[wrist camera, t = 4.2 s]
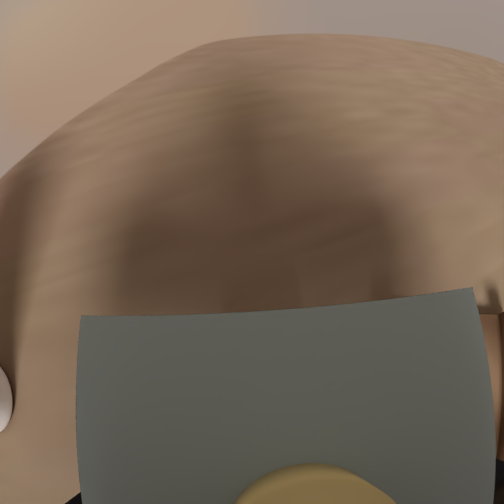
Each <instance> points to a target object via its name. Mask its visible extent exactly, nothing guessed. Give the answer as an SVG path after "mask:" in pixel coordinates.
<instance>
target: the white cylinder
mask: <svg viewBox="0 0 504 504" xmlns="http://www.w3.org/2000/svg"><path fill="white" fill-rule="evenodd" d="M12 406H13V400H12V392H11V387H10V384H9V381H8V378H7V376H6V374H5V373H4V371H3V369H2V368H1V367H0V432H1V431H3V430H4V429H5V428H6V426H7V425H8V423H9V421H10V418H11V414H12Z"/></svg>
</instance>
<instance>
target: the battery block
mask: <svg viewBox="0 0 504 504" xmlns="http://www.w3.org/2000/svg"><path fill="white" fill-rule="evenodd" d="M76 439H77V457H78V470H79V480H80V489H81V497H82V504H493V501H494V488H495V466H496V440H495V417H494V404H493V394H492V385H491V377H490V369H489V363H488V356H487V351H486V345H485V340H484V335H483V330H482V325H481V320H480V316H479V312H478V307H477V303H476V299H475V296H474V292H473V288H472V287H470V288H464V289H458V290H451V291H445V292H438V293H431V294H424V295H417V296H410V297H402V298H394V299H386V300H378V301H369V302H360V303H351V304H341V305H331V306H320V307H308V308H296V309H283V310H269V311H254V312H236V313H216V314H191V315H150V316H85V315H81V322H80V332H79V343H78V357H77V376H76Z"/></svg>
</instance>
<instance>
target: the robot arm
mask: <svg viewBox="0 0 504 504" xmlns="http://www.w3.org/2000/svg"><path fill="white" fill-rule="evenodd" d="M65 504H82V497H81V492H80V493H79V494H77V495H76V496H75V497H73V498H72V499H71V500H69V501H68V502H66V503H65ZM493 504H504V461H502V460H500V459H498V458H496V466H495V488H494V501H493Z"/></svg>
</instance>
